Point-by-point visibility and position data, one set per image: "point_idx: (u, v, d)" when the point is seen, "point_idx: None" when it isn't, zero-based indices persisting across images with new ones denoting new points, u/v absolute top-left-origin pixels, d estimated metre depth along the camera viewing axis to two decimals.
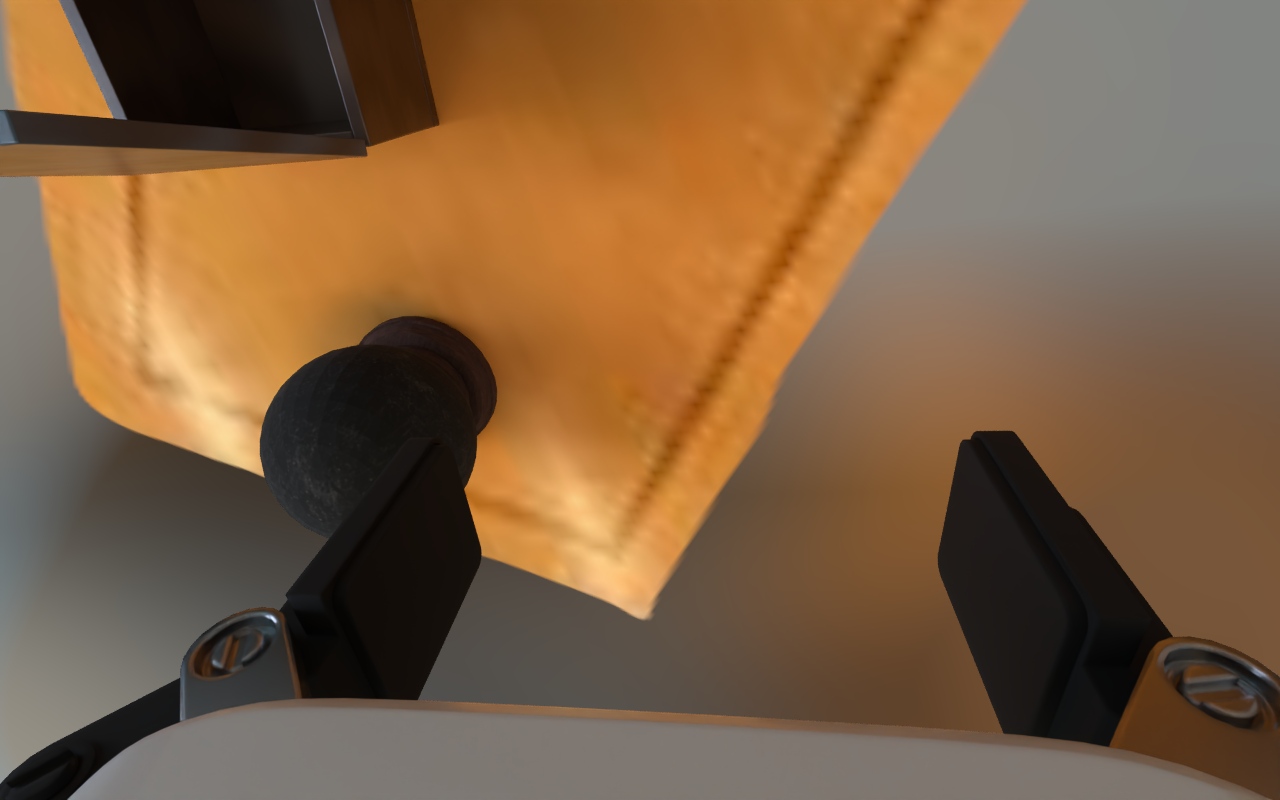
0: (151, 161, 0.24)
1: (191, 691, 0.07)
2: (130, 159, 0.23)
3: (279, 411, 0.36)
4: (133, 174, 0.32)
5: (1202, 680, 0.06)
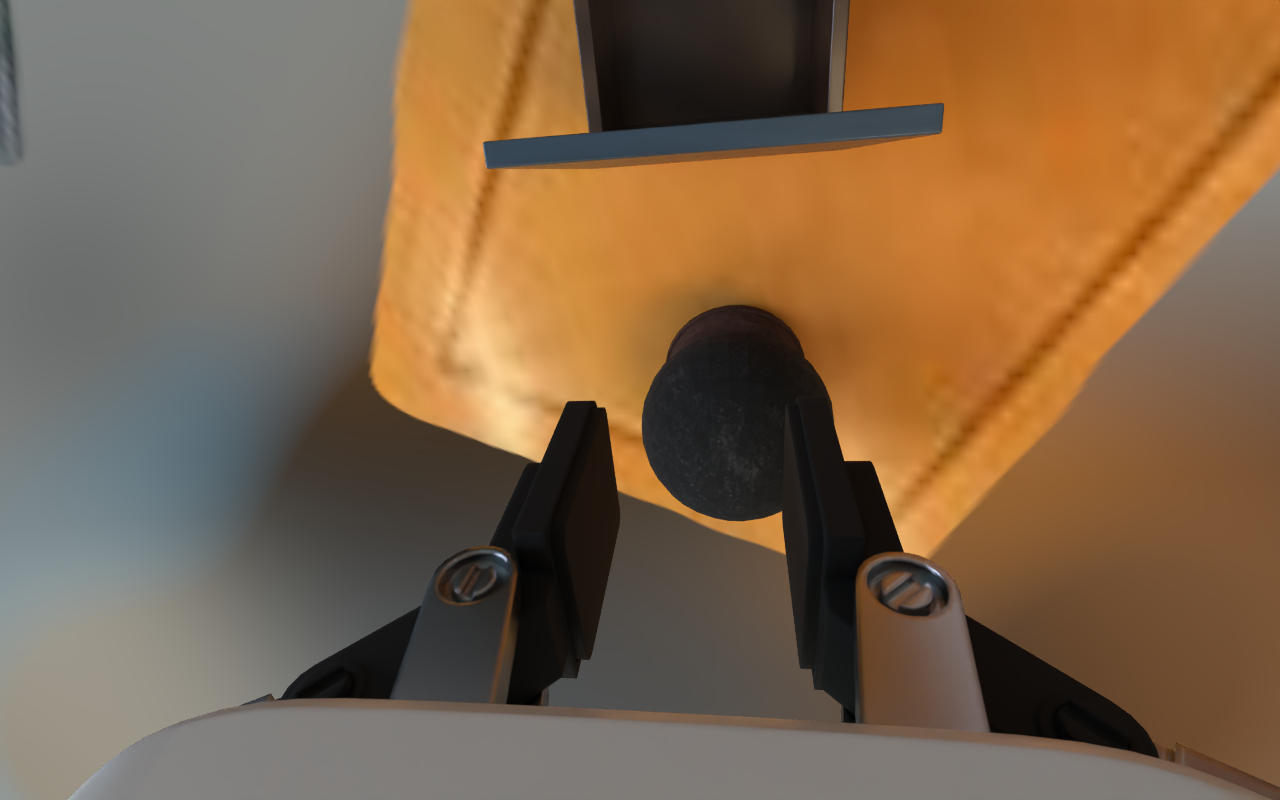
0: (759, 153, 0.26)
1: (449, 614, 0.08)
2: None
3: (693, 393, 0.38)
4: None
5: (893, 587, 0.08)
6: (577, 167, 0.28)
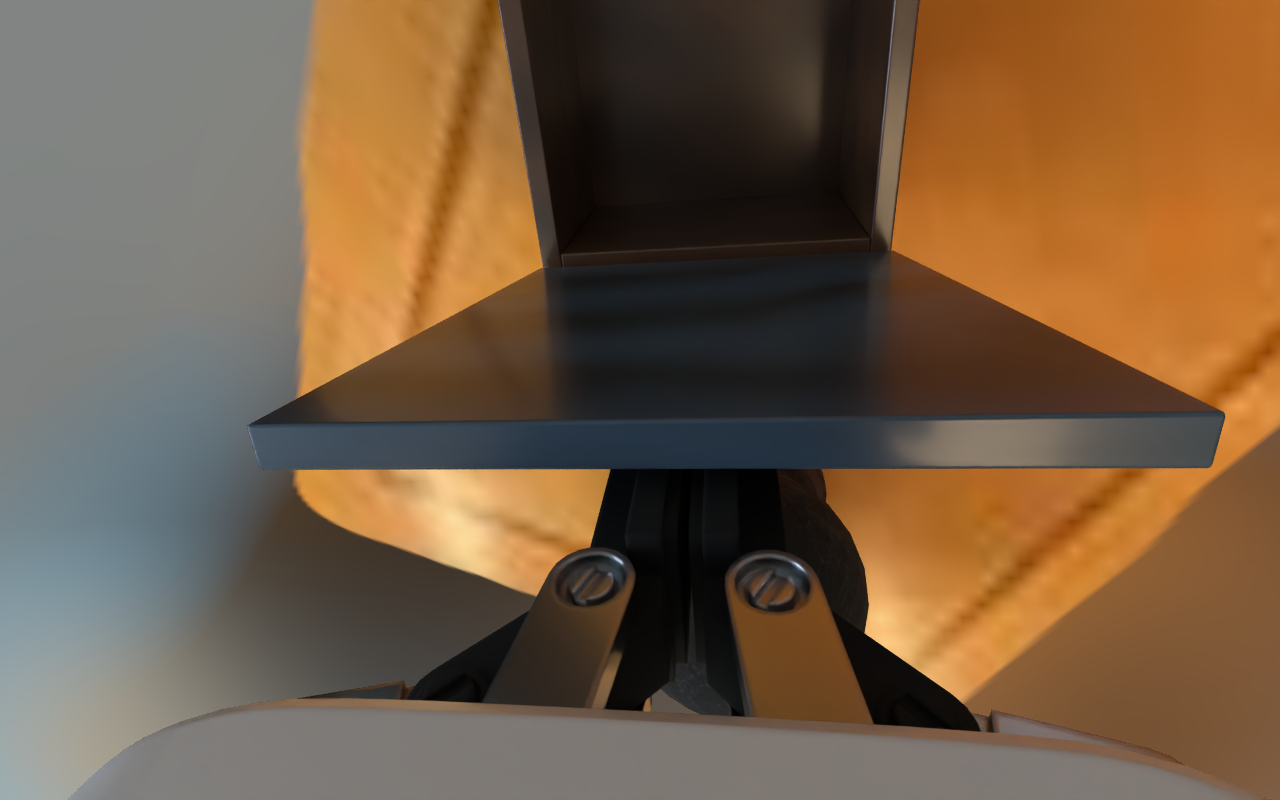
0: None
1: (574, 618, 0.08)
2: None
3: None
4: None
5: (759, 587, 0.08)
6: None
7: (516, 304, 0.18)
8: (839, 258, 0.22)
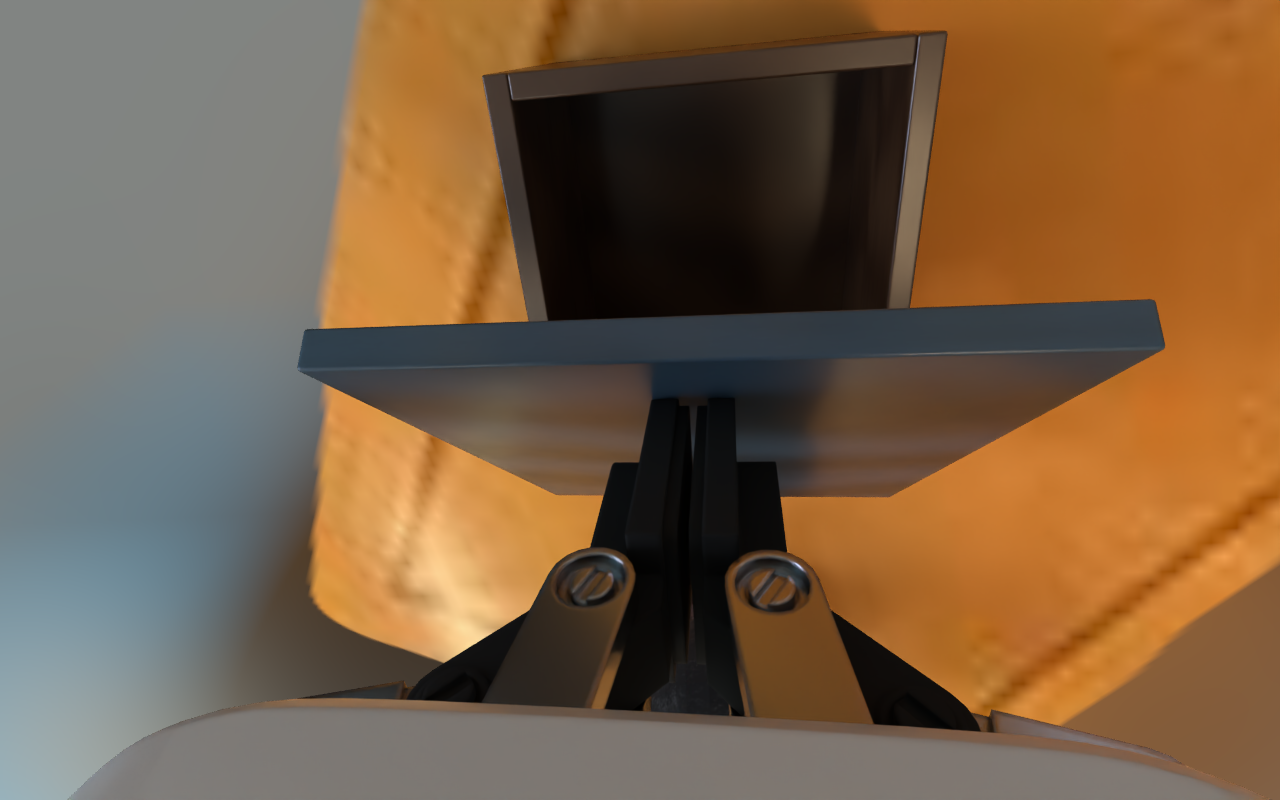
0: (784, 461, 0.18)
1: (574, 618, 0.08)
2: (816, 449, 0.16)
3: None
4: (569, 493, 0.26)
5: (759, 587, 0.08)
6: (517, 463, 0.19)
7: None
8: None
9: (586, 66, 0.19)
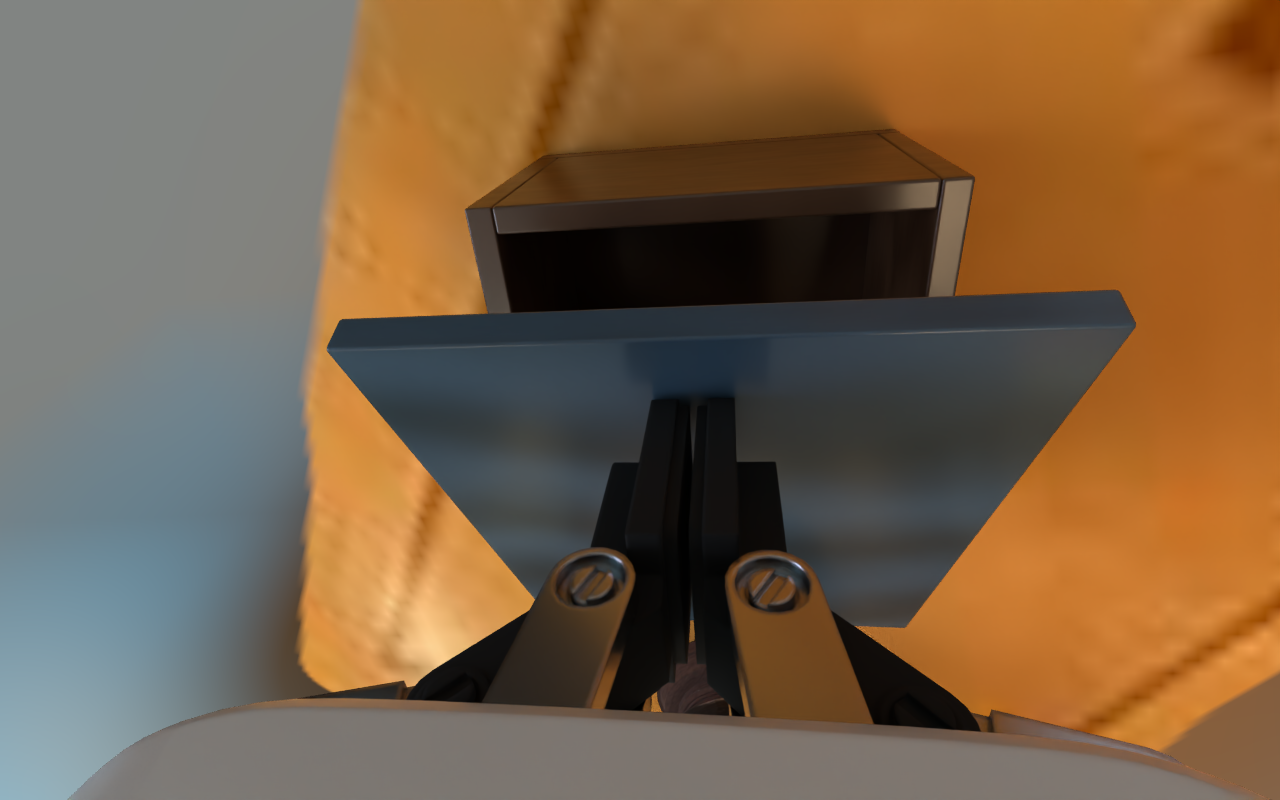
0: (789, 542, 0.17)
1: (574, 618, 0.08)
2: (821, 518, 0.16)
3: None
4: None
5: (760, 587, 0.08)
6: (513, 541, 0.19)
7: None
8: None
9: (578, 202, 0.17)
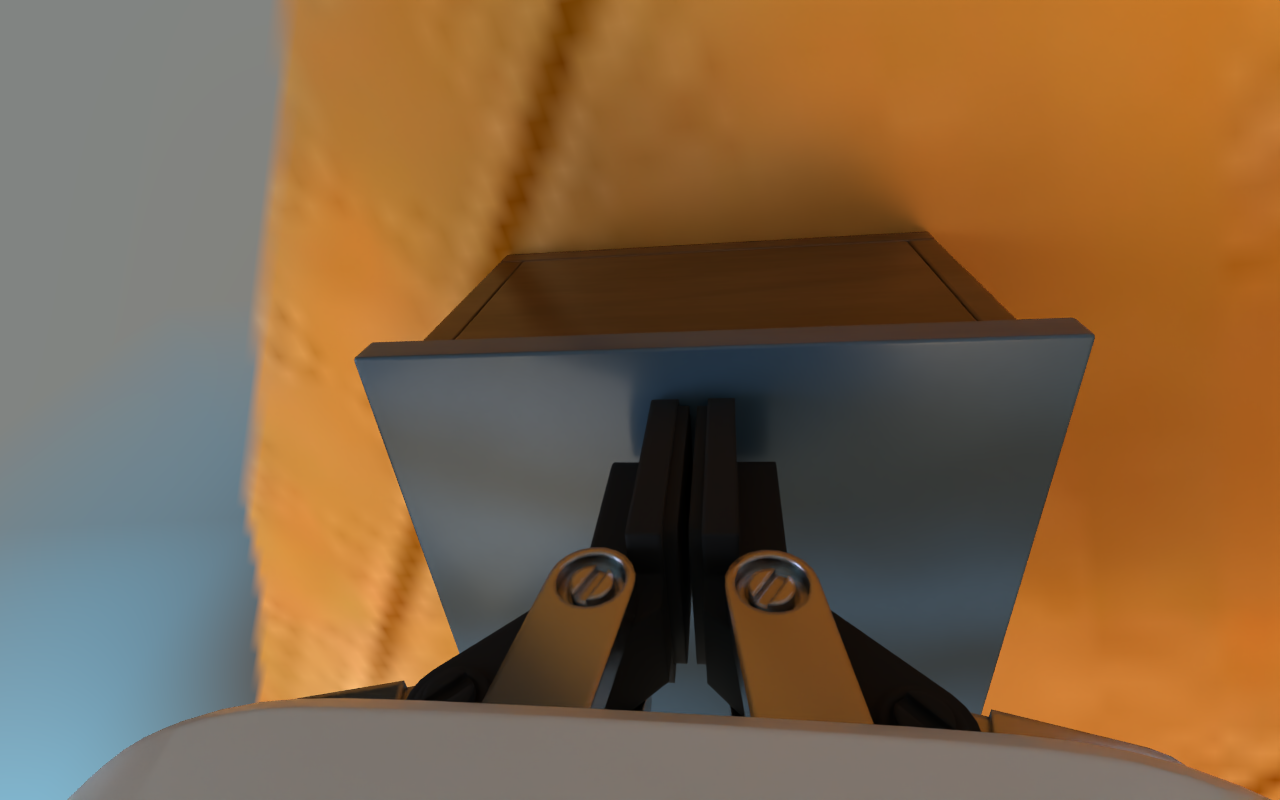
0: None
1: (574, 618, 0.08)
2: None
3: None
4: None
5: (759, 587, 0.08)
6: None
7: None
8: None
9: None
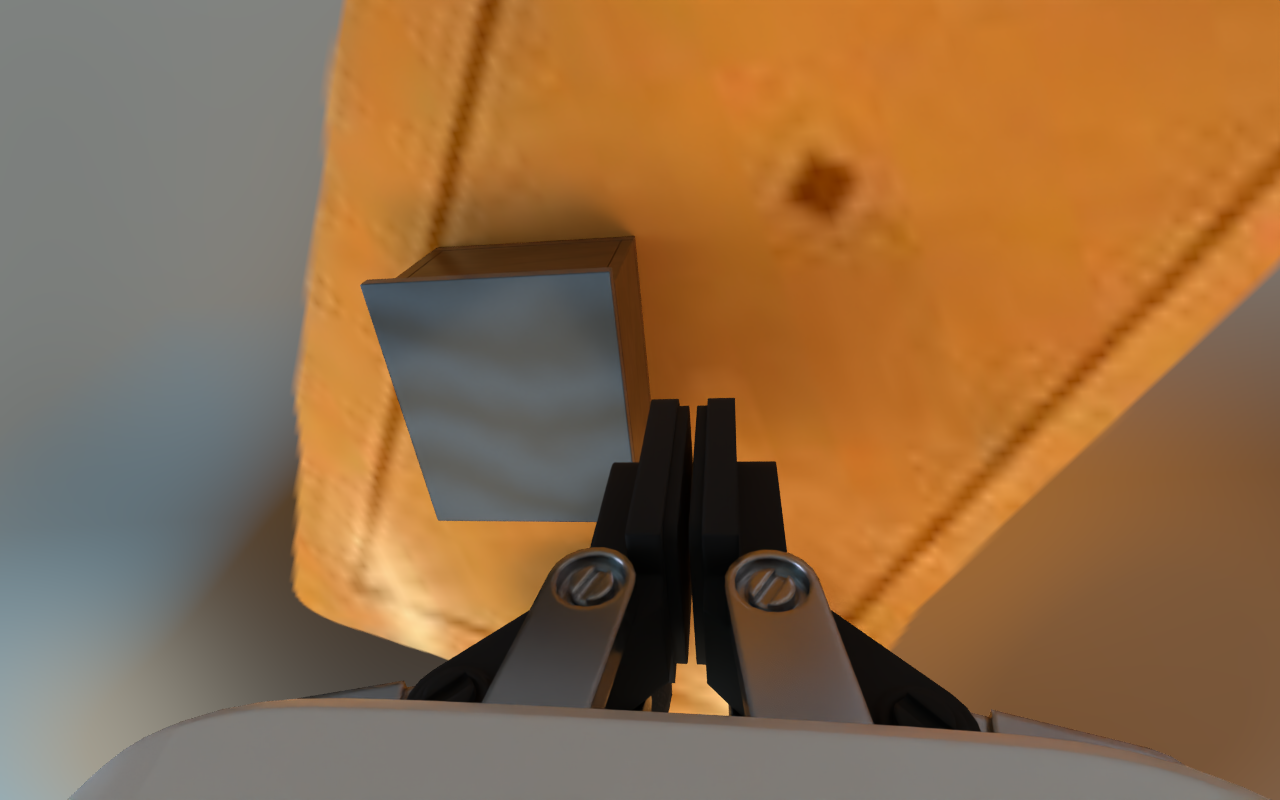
0: (548, 419, 0.36)
1: (574, 618, 0.08)
2: (555, 395, 0.35)
3: None
4: (446, 514, 0.41)
5: (759, 587, 0.08)
6: (420, 425, 0.37)
7: None
8: None
9: None
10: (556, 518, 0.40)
